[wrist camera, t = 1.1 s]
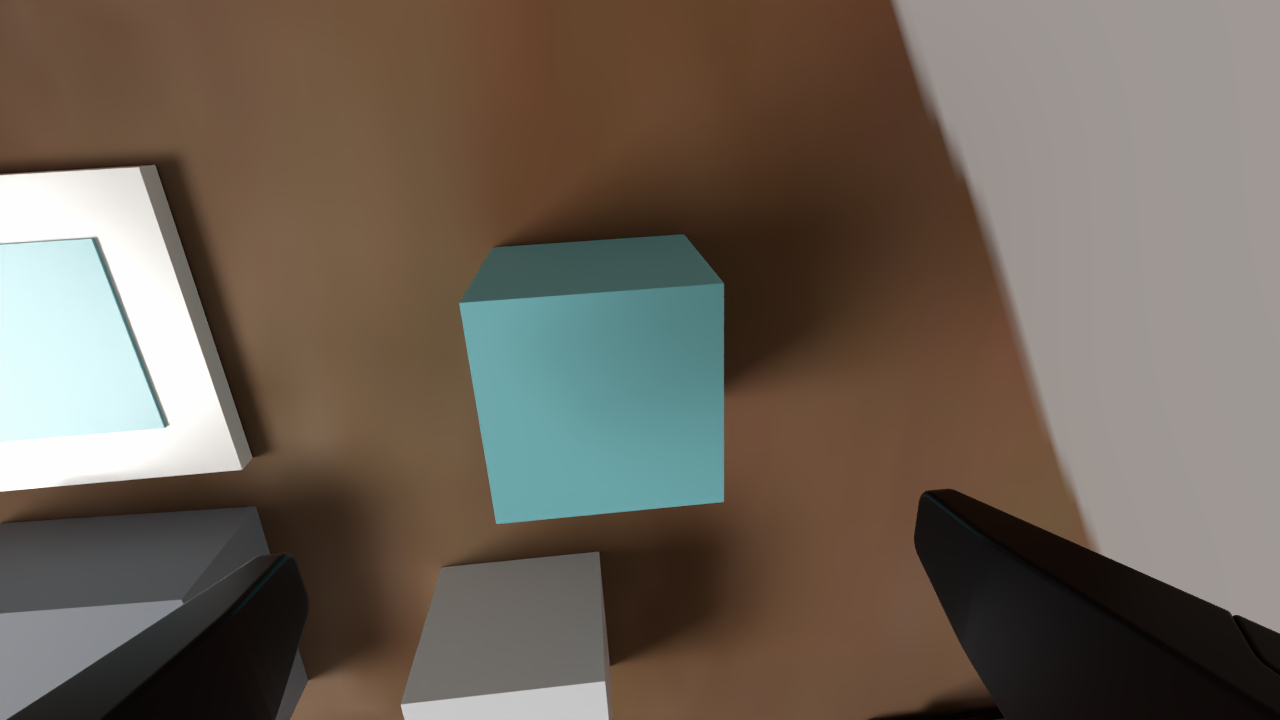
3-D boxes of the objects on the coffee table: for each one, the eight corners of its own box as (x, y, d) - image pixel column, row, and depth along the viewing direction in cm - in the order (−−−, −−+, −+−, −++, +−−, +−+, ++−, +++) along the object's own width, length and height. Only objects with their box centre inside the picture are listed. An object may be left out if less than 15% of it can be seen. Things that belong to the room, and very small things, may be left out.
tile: (252, 458, 18) (240, 471, 17) (-48, 484, 17) (-72, 499, 17) (155, 164, 15) (136, 167, 14) (-213, 186, 14) (-251, 190, 14)
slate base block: (310, 674, 21) (255, 793, 18) (92, 693, 21) (-13, 820, 17) (259, 501, 19) (182, 599, 15) (7, 518, 18) (-139, 624, 14)
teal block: (687, 403, 19) (723, 501, 14) (517, 417, 18) (496, 524, 14) (683, 233, 17) (723, 283, 12) (492, 246, 16) (459, 303, 12)
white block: (609, 664, 22) (618, 811, 18) (466, 680, 22) (436, 834, 17) (599, 549, 20) (605, 680, 16) (441, 565, 20) (400, 704, 15)
